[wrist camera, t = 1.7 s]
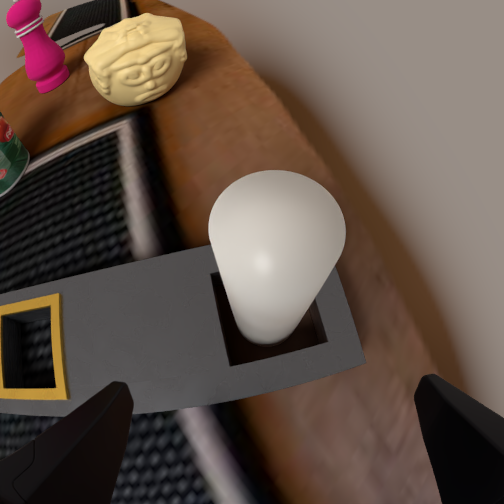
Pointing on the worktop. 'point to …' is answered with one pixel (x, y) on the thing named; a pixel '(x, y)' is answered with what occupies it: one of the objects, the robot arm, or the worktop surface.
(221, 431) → the worktop surface
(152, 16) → the sculpture
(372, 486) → the worktop surface
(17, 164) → the canned tomato
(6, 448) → the worktop surface
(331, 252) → the peg
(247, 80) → the worktop surface
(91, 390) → the grey board with holes
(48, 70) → the pepper mill
